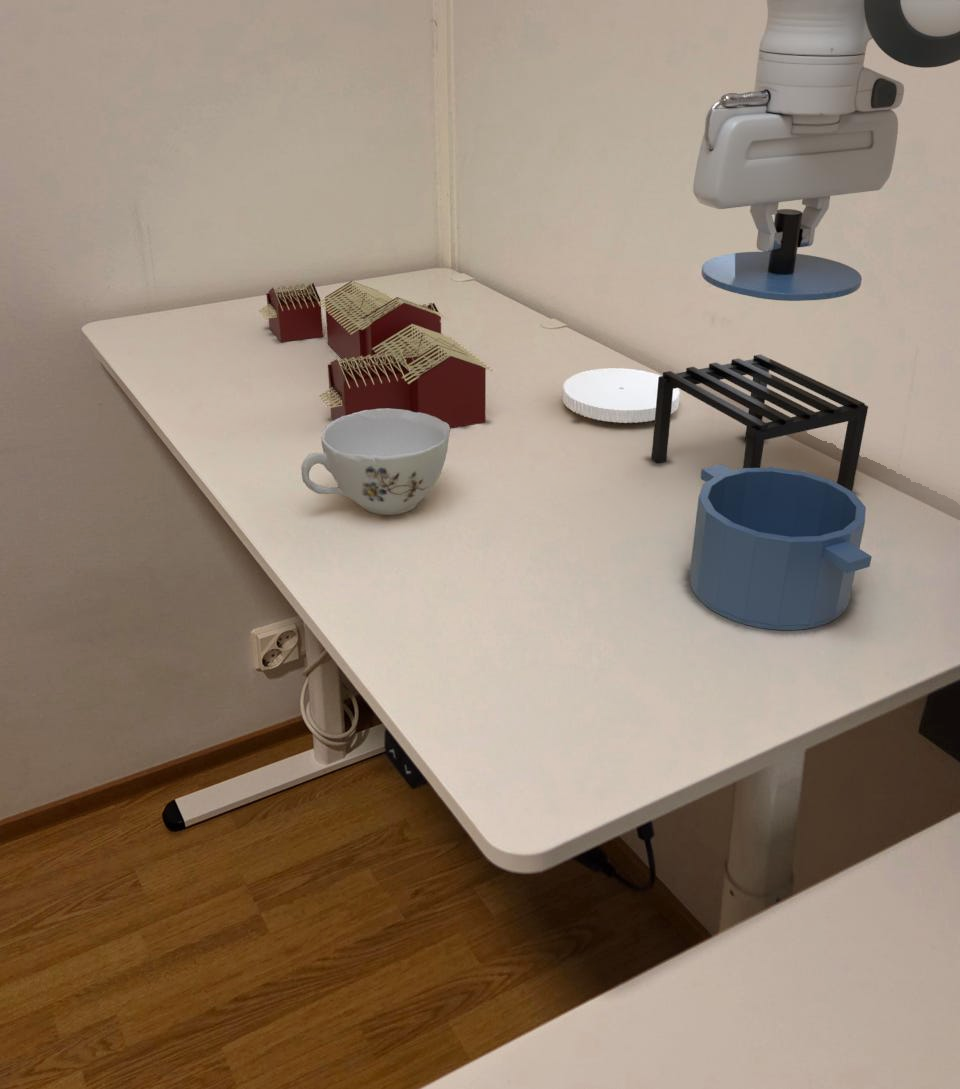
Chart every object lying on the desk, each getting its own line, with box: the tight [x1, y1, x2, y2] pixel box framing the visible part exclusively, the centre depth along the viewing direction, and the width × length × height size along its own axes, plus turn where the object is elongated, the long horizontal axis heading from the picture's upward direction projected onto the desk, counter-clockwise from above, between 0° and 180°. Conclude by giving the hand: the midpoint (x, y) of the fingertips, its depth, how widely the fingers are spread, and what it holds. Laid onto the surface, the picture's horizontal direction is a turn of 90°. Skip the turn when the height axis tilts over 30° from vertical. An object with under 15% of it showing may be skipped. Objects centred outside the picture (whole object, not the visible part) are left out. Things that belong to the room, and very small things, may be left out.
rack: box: [650, 353, 869, 492], centre depth 115 cm, size 14×16×10 cm
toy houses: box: [258, 280, 494, 429], centre depth 142 cm, size 45×20×10 cm, turn 24°
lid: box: [700, 208, 863, 302], centre depth 102 cm, size 15×15×7 cm
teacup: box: [301, 408, 452, 516], centre depth 109 cm, size 15×12×8 cm
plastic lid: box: [561, 367, 681, 424], centre depth 133 cm, size 14×14×2 cm
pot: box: [689, 464, 873, 631], centre depth 95 cm, size 14×19×8 cm
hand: (784, 247), depth 102 cm, fingers closed on lid, 2 cm apart
